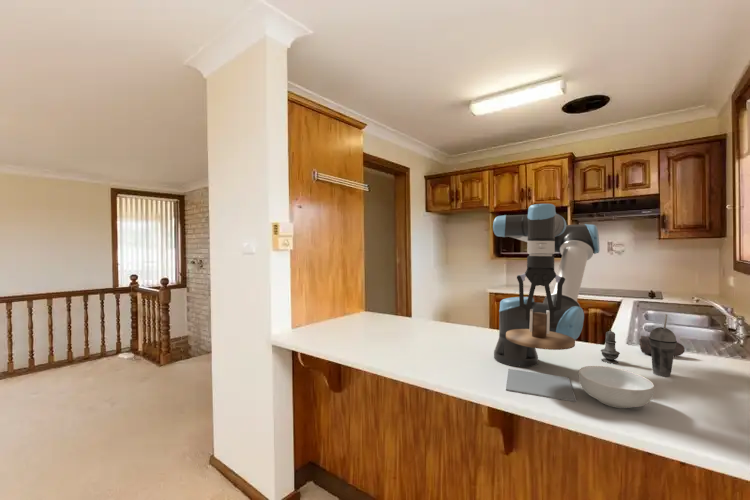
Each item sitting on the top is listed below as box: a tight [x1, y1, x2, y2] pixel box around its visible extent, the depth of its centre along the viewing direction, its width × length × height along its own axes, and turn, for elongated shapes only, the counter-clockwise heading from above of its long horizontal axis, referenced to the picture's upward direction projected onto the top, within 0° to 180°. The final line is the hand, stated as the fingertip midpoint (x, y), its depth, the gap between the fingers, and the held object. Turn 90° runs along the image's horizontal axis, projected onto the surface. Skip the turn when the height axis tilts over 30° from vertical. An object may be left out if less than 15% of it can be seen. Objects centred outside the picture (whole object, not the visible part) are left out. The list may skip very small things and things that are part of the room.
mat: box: [505, 368, 577, 403], centre depth 107 cm, size 18×18×1 cm
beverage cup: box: [648, 314, 678, 378], centre depth 116 cm, size 7×7×20 cm
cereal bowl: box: [578, 365, 655, 409], centre depth 95 cm, size 17×17×7 cm
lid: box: [506, 312, 576, 351], centre depth 106 cm, size 19×19×8 cm
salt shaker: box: [600, 328, 620, 365], centre depth 128 cm, size 6×6×12 cm
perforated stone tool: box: [638, 335, 686, 357], centre depth 136 cm, size 15×5×7 cm, turn 69°
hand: (539, 331), depth 106 cm, fingers closed on lid, 4 cm apart
